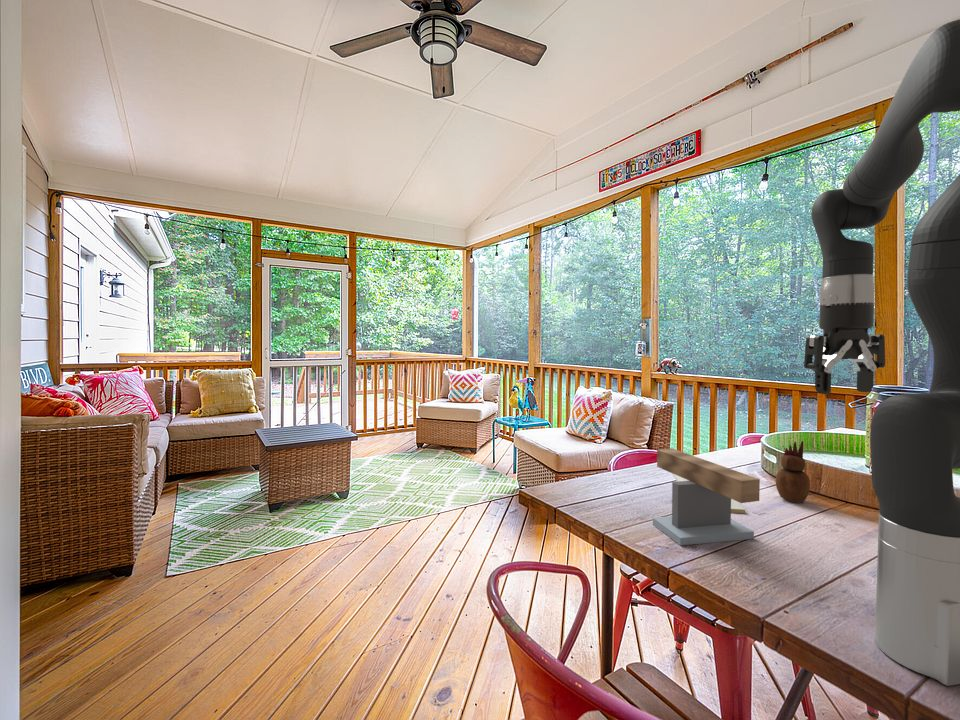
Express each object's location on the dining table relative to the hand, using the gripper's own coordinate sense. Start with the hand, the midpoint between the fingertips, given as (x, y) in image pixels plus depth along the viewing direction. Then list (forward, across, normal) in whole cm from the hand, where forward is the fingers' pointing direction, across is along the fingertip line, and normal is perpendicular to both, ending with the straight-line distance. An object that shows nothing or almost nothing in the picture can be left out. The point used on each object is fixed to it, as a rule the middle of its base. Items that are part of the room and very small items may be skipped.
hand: (843, 392), depth 81 cm
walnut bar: (+20, +18, -14) cm, 30 cm away
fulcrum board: (+30, +18, -14) cm, 38 cm away
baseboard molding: (+31, +2, -38) cm, 49 cm away
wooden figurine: (+30, -15, -26) cm, 43 cm away
